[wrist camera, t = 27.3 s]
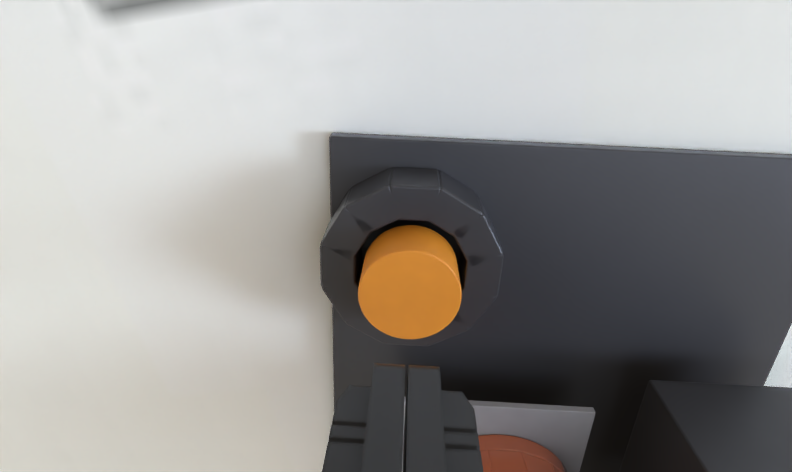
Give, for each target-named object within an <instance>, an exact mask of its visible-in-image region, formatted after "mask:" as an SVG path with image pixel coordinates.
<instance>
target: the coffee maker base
mask: <svg viewBox="0 0 792 472" xmlns="http://www.w3.org/2000/svg"><path fill="white" fill-rule="evenodd" d="M329 145H330V201H331V220H330V222H329V224H328V227H327V229H326V232H325V234H324V236H323V239H322V241H321V246H320V266H321V286H322V289H323V291H324V292H325V294H326V295H327V297H328V298H329V300H330V301H331V303H332V312H333V367H334V411H335V407H336V402H337V400H338V399H339V398H340V396H341V395H342V394H343V393H344V391H345V390H346V389H347V387H348V386H349V385H355V386H371V384H372V375H373V367H374V363H381V364H398V365H405V397H406V388H407V372H408V365H418V366H436V367H440V376H441V390H444V391H462V392H463V393H464V395H465V396H466V398H467V399H468V400H474V401H491V402H508V403H526V404H543V405H560V406H577V407H593V408H594V410H595V417H594V421H593V424H592V428H591V431H590V435H589V439H588V442H587V446H586V449H585V453H584V457H583V460H582V464H581V468H580V471H579V472H619V471H620V468H621V465H622V462H623V458H624V455H625V452H626V449H627V446H628V443H629V440H630V437H631V434H632V431H633V428H634V425H635V422H636V418H637V415H638V412H639V409H640V406H641V403H642V400H643V397H644V394H645V391H646V388H647V385H648V382H649V380H661V381H679V382H697V383H714V384H732V385H750V386H764V383H765V381H766V379H767V377H768V375H769V372H770V370H771V368H772V366H773V364H774V361H775V359H776V357H777V355H778V352H779V350H780V348H781V346H782V344H783V341H784V339H785V337H786V335H787V333H788V330H789V328H790V326H791V324H792V155H788V154H767V153H746V152H725V151H704V150H683V149H662V148H641V147H620V146H599V145H579V144H558V143H537V142H516V141H495V140H474V139H453V138H432V137H411V136H390V135H369V134H348V133H332V134H331V136H330V137H329ZM403 225H417V226H422V227H426V228H429V229H431V230H433V231H435V232H437V233H438V234H440V235H441V236H443V237H444V238H445V239H446V240H447V241H448V243H449V244H450V245H451V247H452V248H453V250H454V253H455V255H456V259H457V265H458V271H459V278H460V284H461V291H462V300H461V305H460V308H459V311H458V312H457V314H456V316H455V317H454V319H453V320H452V321H451V323H450V324H449V325H448V326H446V327H445V328H444V329H443V330H441V331H439V332H438V333H436V334H434V335H431V336H428V337H425V338H420V339H401V338H396V337H392V336H390V335H387V334H385V333H383V332H381V331H380V330H378V329H377V328H375V327H374V326H373V325H372V324H371V323H370V322H369V321H368V320H367V319H366V317H365V316H364V314H363V312H362V310H361V308H360V305H359V301H358V287H359V282H360V277H361V273H362V268H363V263H364V259H365V255H366V252H367V250H368V248H369V246H370V245H371V243H372V242H373V241H374V240H375V239H376V238H377V237H378V236H379V235H380V234H382V233H383V232H385V231H387V230H389V229H391V228H394V227H398V226H403Z"/></svg>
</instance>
